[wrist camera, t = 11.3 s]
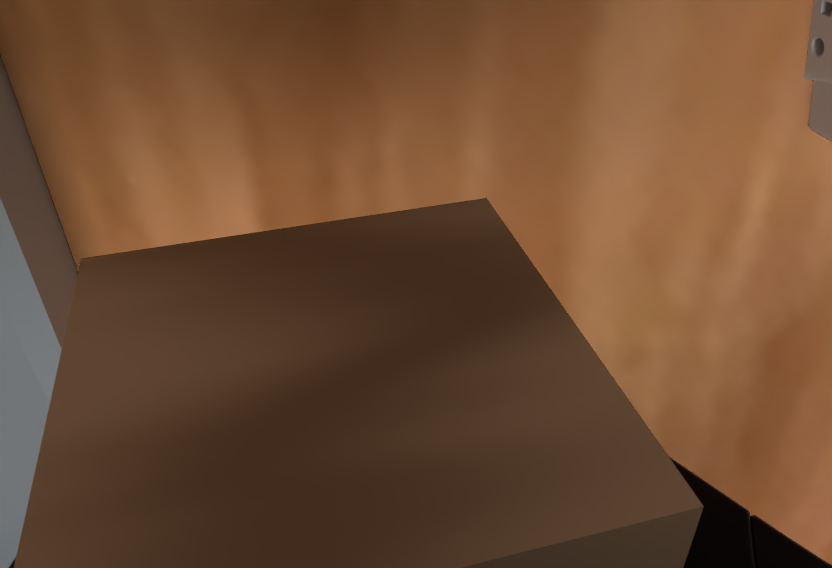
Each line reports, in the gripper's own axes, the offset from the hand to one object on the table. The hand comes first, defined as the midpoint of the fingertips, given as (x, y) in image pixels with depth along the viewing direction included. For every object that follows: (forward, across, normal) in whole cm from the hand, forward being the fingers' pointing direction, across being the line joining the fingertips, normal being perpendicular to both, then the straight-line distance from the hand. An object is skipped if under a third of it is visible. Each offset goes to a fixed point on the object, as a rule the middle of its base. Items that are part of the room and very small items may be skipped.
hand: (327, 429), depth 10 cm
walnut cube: (+1, 0, 0) cm, 1 cm away
